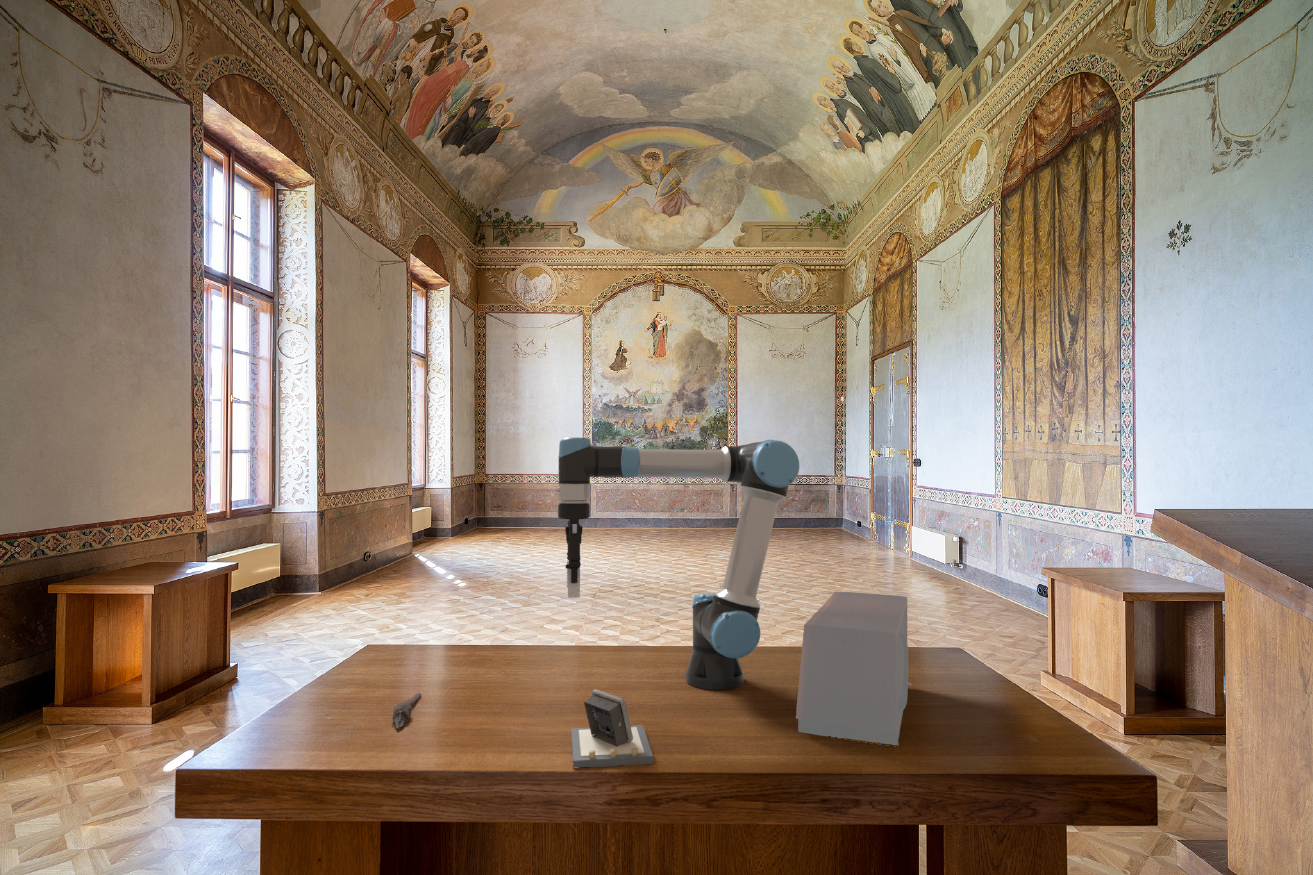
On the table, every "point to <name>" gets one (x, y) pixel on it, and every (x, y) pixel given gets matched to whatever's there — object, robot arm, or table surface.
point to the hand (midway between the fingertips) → (573, 592)
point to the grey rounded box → (855, 668)
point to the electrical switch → (608, 718)
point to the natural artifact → (403, 711)
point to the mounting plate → (609, 749)
